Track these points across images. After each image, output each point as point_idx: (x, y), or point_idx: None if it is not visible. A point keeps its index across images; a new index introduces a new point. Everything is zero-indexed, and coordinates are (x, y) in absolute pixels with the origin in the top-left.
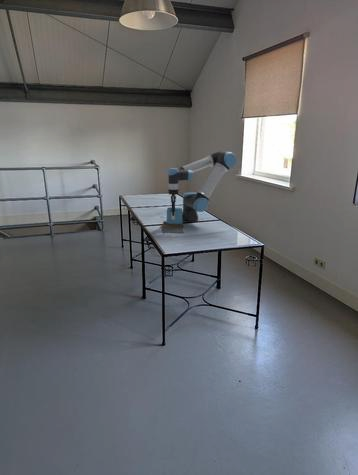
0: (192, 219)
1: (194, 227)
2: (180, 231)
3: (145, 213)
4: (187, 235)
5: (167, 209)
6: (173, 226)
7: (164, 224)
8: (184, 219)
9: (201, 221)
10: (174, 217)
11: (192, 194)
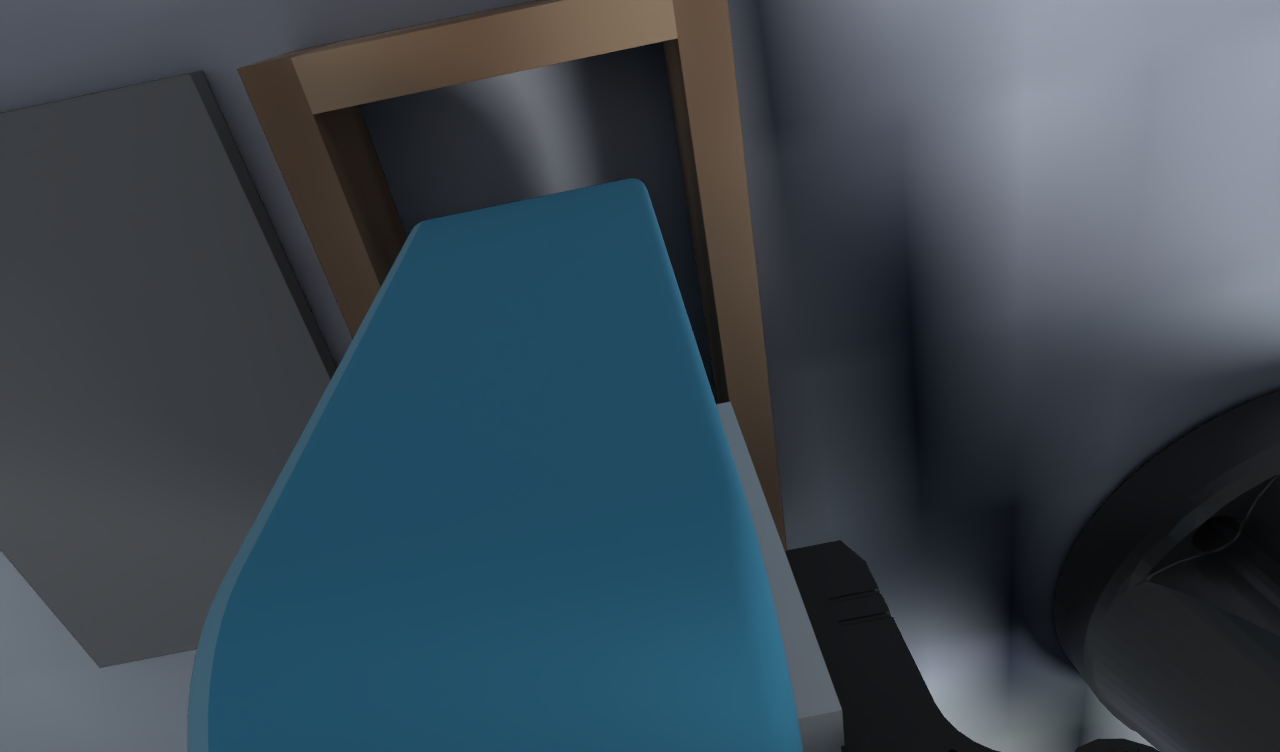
0: (1088, 678)
1: None
2: (137, 606)
3: None
4: (10, 732)
5: (193, 724)
6: None
7: (276, 152)
8: (1143, 525)
9: (1082, 742)
10: None
11: None
